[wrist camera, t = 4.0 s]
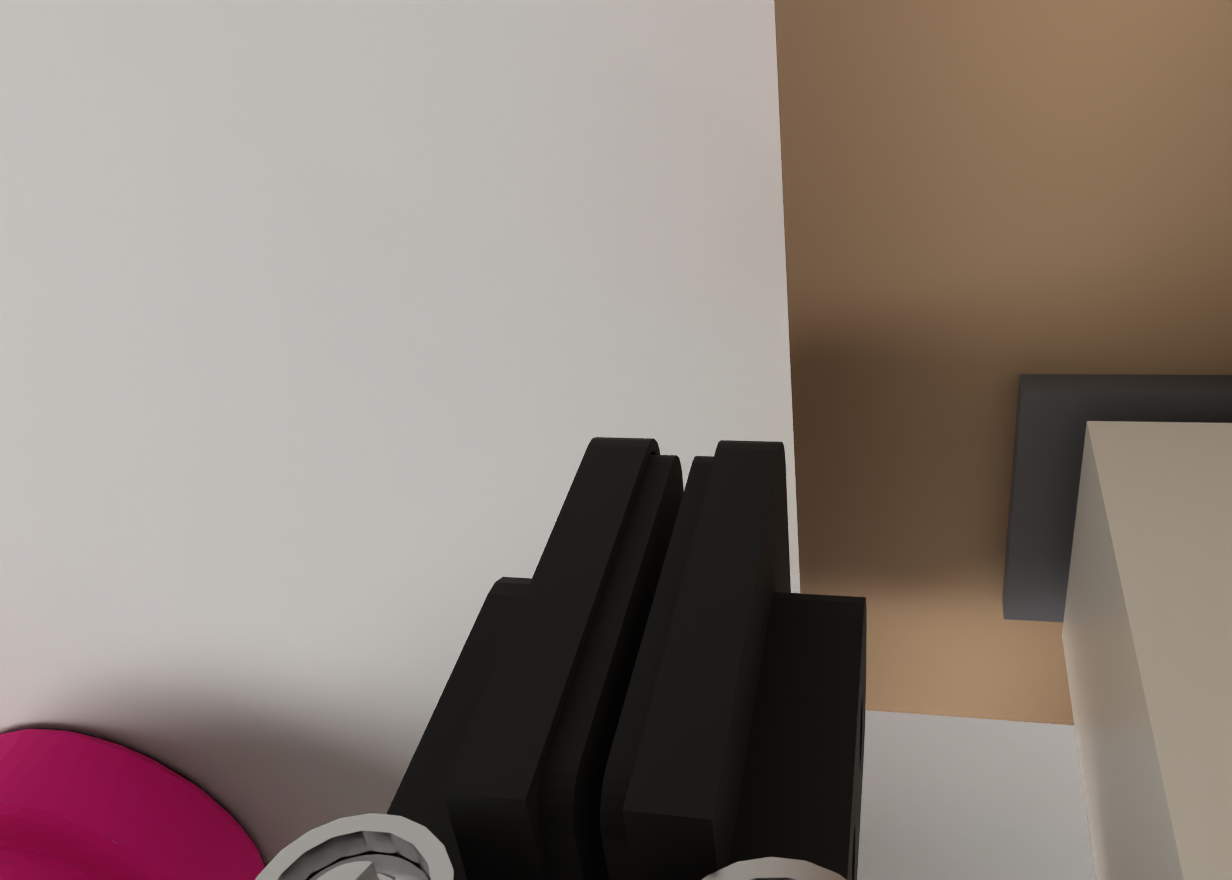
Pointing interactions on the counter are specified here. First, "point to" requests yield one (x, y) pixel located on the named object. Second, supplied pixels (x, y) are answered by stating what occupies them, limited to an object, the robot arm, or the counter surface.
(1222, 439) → the terracotta-capped tab
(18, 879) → the pepper mill
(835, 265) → the wooden board
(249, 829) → the counter surface
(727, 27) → the counter surface
